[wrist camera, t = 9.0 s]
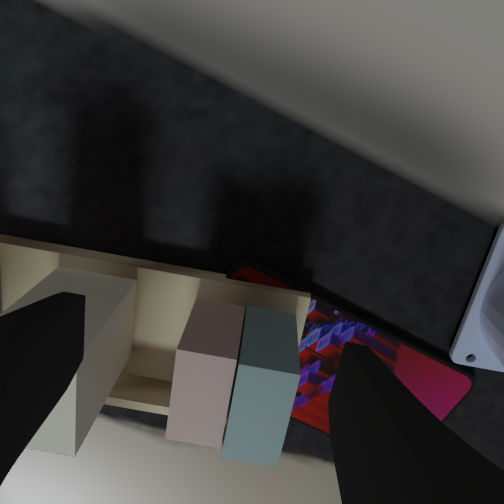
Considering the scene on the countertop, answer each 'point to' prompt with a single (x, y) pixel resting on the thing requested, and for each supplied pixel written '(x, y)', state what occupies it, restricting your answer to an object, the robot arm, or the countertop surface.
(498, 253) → the robot arm
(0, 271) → the bookend
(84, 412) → the book
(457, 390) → the smartphone
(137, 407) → the shelf board
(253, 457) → the shelved books
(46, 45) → the countertop surface
